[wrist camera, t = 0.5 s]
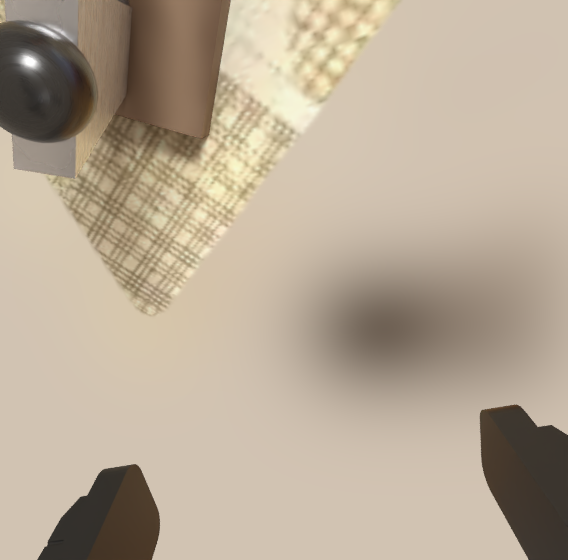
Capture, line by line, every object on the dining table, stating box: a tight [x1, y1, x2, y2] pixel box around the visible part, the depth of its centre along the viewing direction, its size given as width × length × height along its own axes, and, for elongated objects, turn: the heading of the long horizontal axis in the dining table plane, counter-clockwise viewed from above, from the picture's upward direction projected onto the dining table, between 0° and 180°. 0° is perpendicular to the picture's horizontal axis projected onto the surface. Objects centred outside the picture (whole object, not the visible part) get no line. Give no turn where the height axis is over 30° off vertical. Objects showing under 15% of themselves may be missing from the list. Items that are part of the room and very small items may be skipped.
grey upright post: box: [0, 0, 132, 179], centre depth 18 cm, size 3×6×21 cm, turn 166°
